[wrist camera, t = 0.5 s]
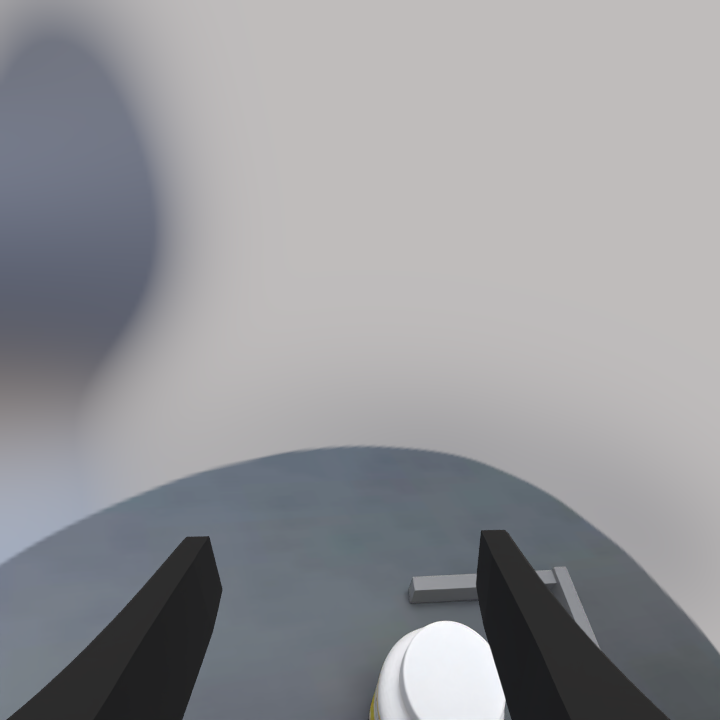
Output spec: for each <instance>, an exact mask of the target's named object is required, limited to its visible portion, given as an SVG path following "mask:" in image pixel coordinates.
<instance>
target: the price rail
mask: <svg viewBox="0 0 720 720" xmlns="http://www.w3.org/2000/svg"><path fill="white" fill-rule="evenodd" d="M536 573H537V574H538V576H539V577H540V578H541V579H542V581H543V582H544V583H545V585H546V586H547V587H548V589H549V590H550V591H551V592H552V593H553V595H554V596H555V597H556V598H557V600H558V601H559V602H560V603H561V605H562V606H563V607H564V608H565V610H566V611H567V612H568V613H569V614H570V616H571V617H572V618H573V619H574V620H575V622H576V623H577V624H578V625H579V626H580V627H581V628H582V630H583V631H584V632H585V633H586V634H587V635H588V636H589V638H590V639H591V640H592V641H593V642H594V643H595V644H596V645H597V647H598V648H599V649H600V647H599V645H598V643H597V640H596V638H595V635H594V633H593V631H592V628H591V626H590V623H589V621H588V619H587V616H586V614H585V611H584V609H583V607H582V604H581V602H580V599H579V597H578V595H577V592H576V590H575V587H574V585H573V583H572V580H571V578H570V575H569V573H568V571H567V568H566V567H554V568H553V569H552V570H541V571H536ZM476 578H477V574H462V575H442V576H422V577H413V578H412V581H411V584H410V587H409V597H410V603H426V602H444V601H462V600H479V599H478V594H477V589H476Z"/></svg>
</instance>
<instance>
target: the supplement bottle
mask: <svg viewBox="0 0 720 720" xmlns="http://www.w3.org/2000/svg"><path fill="white" fill-rule="evenodd" d="M505 700H506V699H505V696H504V692H503V689H502V686H501V682H500V679H499V676H498V673H497V669H496V666H495V663H494V659H493V656H492V653H491V649H490V646H489V644H488V643H487V642H486V641H485V640H484V639H483V638H482V637H481V636H480V635H479V634H478V633H477V632H475V631H474V630H472V629H471V628H469V627H467V626H465V625H463V624H460V623H457V622H453V621H440V622H435V623H432V624H429V625H427V626H425V627H424V628H420V629H417V630H414V631H412V632H410V633H408V634H407V635H405V636H404V637H402V638H401V639H400V640H399V641H398V642H397V643H396V644H395V645H394V646H393V648H392V649H391V651H390V652H389V654H388V656H387V658H386V660H385V662H384V664H383V667H382V669H381V673H380V676H379V680H378V683H377V686H376V690H375V693H374V696H373V700H372V703H371V707H370V712H369V719H368V720H504V707H505Z"/></svg>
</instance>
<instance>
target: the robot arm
mask: <svg viewBox="0 0 720 720" xmlns="http://www.w3.org/2000/svg"><path fill="white" fill-rule="evenodd" d="M476 589H477V594H478V599H479V605H480V610H481V615H482V620H483V625H484V629H485V632H486V636H487V639H488V642H489V646H490V649H491V653H492V656H493V659H494V663H495V666H496V669H497V673H498V676H499V679H500V682H501V686H502V689H503V692H504V696H505V699H506V702H507V706H508V709H509V712H510V716H511V719H512V720H670V719H669V718H668V717H667V716H666V715H665V714H664V713H663V712H662V711H661V710H659V709H658V708H657V707H656V706H655V705H654V704H653V703H652V702H651V701H650V700H649V699H648V698H647V697H646V696H645V695H644V694H643V693H642V692H641V691H640V690H639V689H638V688H637V687H636V686H635V685H634V684H633V683H632V682H631V681H630V680H629V679H628V678H627V677H626V676H625V675H624V674H623V673H622V672H621V671H620V670H619V669H618V668H617V667H616V666H615V665H614V664H613V663H612V662H611V661H610V660H609V658H608V657H607V656H606V655H605V654H604V653H603V652H602V651H601V650H600V649H599V648H598V647H597V645H596V644H595V643H594V642H593V641H592V640H591V639H590V638H589V636H588V635H587V634H586V633H585V632H584V631H583V630H582V628H581V627H580V626H579V625H578V624H577V623H576V622H575V620H574V619H573V618H572V617H571V616H570V614H569V613H568V612H567V611H566V610H565V608H564V607H563V606H562V605H561V603H560V602H559V601H558V600H557V598H556V597H555V596H554V595H553V593H552V592H551V591H550V590H549V589H548V587H547V586H546V585H545V583H544V582H543V581H542V579H541V578H540V577H539V576H538V574H537V573H536V571H535V570H534V569H533V567H532V566H531V565H530V563H529V562H528V561H527V559H526V558H525V557H524V555H523V554H522V552H521V551H520V549H519V548H518V547H517V545H516V544H515V542H514V541H513V539H512V538H511V536H510V535H509V533H508V532H506V531H505V530H481V537H480V547H479V557H478V568H477V578H476ZM221 594H222V586H221V582H220V578H219V574H218V570H217V566H216V562H215V558H214V554H213V550H212V546H211V542H210V538H209V536H205V537H186V538H185V539H184V540H183V541H182V542H181V543H180V545H179V546H178V547H177V548H176V549H175V550H174V552H173V553H172V554H171V555H170V556H169V557H168V559H167V560H166V561H165V562H164V563H163V564H162V566H161V567H160V568H159V569H158V570H157V571H156V573H155V574H154V575H153V576H152V577H151V578H150V579H149V581H148V582H147V583H146V584H145V585H144V586H143V587H142V589H141V590H140V591H139V592H138V593H137V594H136V595H135V596H134V597H133V599H132V600H131V601H130V602H129V603H128V604H127V605H126V606H125V607H124V609H123V610H122V611H121V612H120V613H119V614H118V615H117V616H116V617H115V618H114V619H113V620H112V621H111V622H110V623H109V625H108V626H107V627H106V628H105V629H104V630H103V631H102V632H101V633H100V634H99V635H98V636H97V637H96V638H95V639H94V640H93V641H92V642H91V643H90V644H89V645H88V646H87V647H86V648H85V649H84V650H83V651H82V652H81V653H80V654H79V655H78V656H77V657H76V658H75V659H74V660H73V661H72V662H71V663H70V664H69V665H68V666H67V667H66V668H65V669H64V670H63V671H61V672H60V673H59V674H58V675H57V676H56V677H55V678H54V679H53V680H52V681H51V682H50V683H48V684H47V685H46V686H45V687H44V688H43V689H42V690H41V691H40V692H39V693H37V694H36V695H35V696H34V697H33V698H32V699H31V700H29V701H28V702H27V703H26V704H25V705H24V706H22V707H21V708H20V709H19V710H18V711H17V712H15V713H14V714H13V715H12V716H11V717H9V718H8V719H7V720H182V719H183V716H184V713H185V710H186V707H187V705H188V702H189V699H190V696H191V693H192V690H193V687H194V685H195V682H196V679H197V676H198V673H199V670H200V667H201V665H202V662H203V659H204V656H205V653H206V650H207V647H208V644H209V641H210V638H211V635H212V632H213V629H214V625H215V620H216V616H217V612H218V608H219V603H220V598H221Z"/></svg>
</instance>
